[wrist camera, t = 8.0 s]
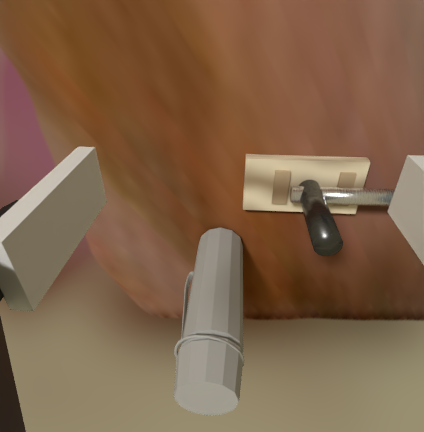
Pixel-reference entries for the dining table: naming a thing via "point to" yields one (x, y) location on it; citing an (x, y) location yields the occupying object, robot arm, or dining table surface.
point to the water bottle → (212, 328)
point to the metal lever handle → (320, 213)
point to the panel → (298, 179)
